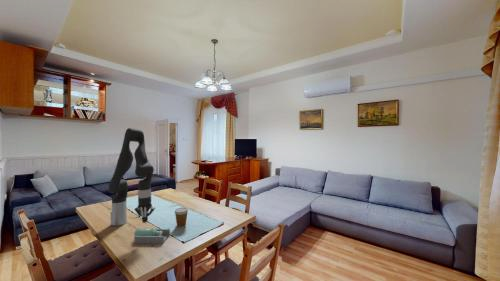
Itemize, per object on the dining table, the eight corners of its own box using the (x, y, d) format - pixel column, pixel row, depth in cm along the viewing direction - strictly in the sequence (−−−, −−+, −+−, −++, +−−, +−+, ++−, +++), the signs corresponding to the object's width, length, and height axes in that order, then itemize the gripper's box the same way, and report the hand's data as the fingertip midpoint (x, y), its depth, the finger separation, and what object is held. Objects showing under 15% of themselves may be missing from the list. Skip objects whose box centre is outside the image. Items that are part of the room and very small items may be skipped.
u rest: (134, 242, 124) (134, 236, 123) (143, 234, 134) (143, 228, 134) (163, 243, 123) (162, 237, 123) (169, 234, 134) (169, 229, 134)
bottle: (134, 230, 126) (159, 231, 126) (139, 227, 132) (163, 227, 132) (134, 239, 126) (159, 239, 126) (138, 235, 131) (163, 235, 131)
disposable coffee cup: (176, 222, 152) (176, 207, 152) (189, 222, 153) (189, 207, 152) (172, 228, 142) (172, 212, 142) (186, 228, 143) (186, 211, 143)
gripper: (131, 197, 124) (131, 224, 125) (152, 197, 124) (152, 224, 125) (137, 193, 131) (138, 219, 132) (157, 194, 131) (157, 219, 132)
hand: (145, 222), depth 128 cm, fingers closed
